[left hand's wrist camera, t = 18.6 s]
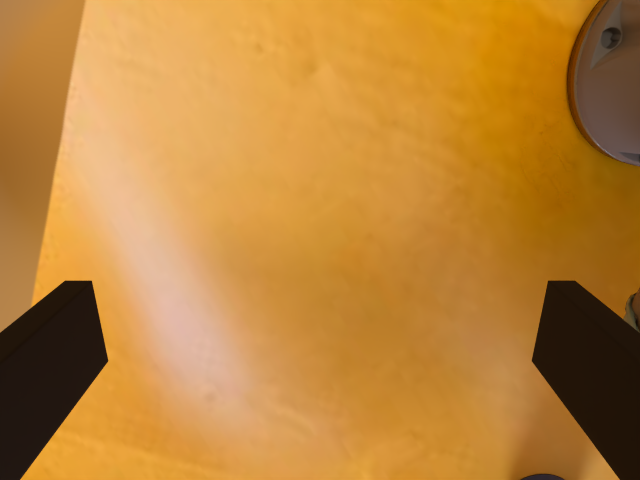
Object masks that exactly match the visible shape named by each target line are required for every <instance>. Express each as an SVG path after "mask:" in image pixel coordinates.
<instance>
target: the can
mask: <svg viewBox="0 0 640 480" xmlns="http://www.w3.org/2000/svg"><path fill="white" fill-rule="evenodd" d="M521 480H564V479H562V478H560V477H558V476H555V475H549V474H539V475H533V476H529V477H526V478H524V479H521Z"/></svg>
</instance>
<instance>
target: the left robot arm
mask: <svg viewBox="0 0 640 480" xmlns="http://www.w3.org/2000/svg"><path fill="white" fill-rule="evenodd" d="M567 90H568V100H569V105H570V110H571V113H572V116H573V119H574V121H575V123H576V126H577V127H578V129H579V131H580V132H581V134H582V135H583V136H584V138H585V139H586V140H587V141H588V142H589V143H590V144H591V145H592V146H593V147H594V148H595V149H597V150H598V151H599V152H601V153H603V154H604V155H606V156H608V157H610V158H612V159H615V160H618V161H621V162H624V163H628V164H632V165H636V166H640V0H600V1H599V2H598V4H597V5H596V6H595V8H594V9H593V11H592V12H591V13H590V15H589V16H588V18H587V20H586V22H585V23H584V25H583V27H582V29H581V31H580V33H579V35H578V38H577V40H576V43H575V46H574V48H573V52H572V55H571V59H570V64H569V70H568V79H567ZM625 310H626V314H625V316H624V318H623V319H622V318H621V317H619V316H618V315H617V314H616V313H614V312H613V311H612V310H611V309H609V308H608V307H607V306H606V305H604V304H603V303H602V302H601V301H599V300H598V299H597V298H596V297H595V296H593V295H592V294H591V293H590V292H588V291H587V290H586V289H585V288H583V287H582V286H581V285H580V284H578V283H577V282H576V281H548V284H547V289H546V294H545V299H544V304H543V309H542V314H541V318H540V323H539V328H538V333H537V338H536V343H535V348H534V353H533V357H532V362H533V363H534V365H535V366H536V367H537V369H538V370H539V371H540V373H541V374H542V376H543V377H544V378H545V380H546V381H547V382H548V384H549V385H550V386H551V388H552V389H553V390H554V392H555V393H556V394H557V396H558V397H559V398H560V400H561V401H562V402H563V404H564V405H565V406H566V408H567V409H568V410H569V412H570V413H571V415H572V416H573V417H574V419H575V420H576V421H577V423H578V424H579V425H580V427H581V428H582V429H583V431H584V432H585V433H586V435H587V436H588V437H589V439H590V440H591V441H592V443H593V444H594V445H595V447H596V448H597V449H598V451H599V452H600V454H601V455H602V456H603V458H604V459H605V460H606V462H607V463H608V464H609V466H610V467H611V468H612V470H613V471H614V472H615V474H616V475H617V476H618V478H619V479H620V480H640V288H639V290H638V292H637V293H635V294H633V295H631V296H630V298H629V299H628V301H627V303H626V308H625ZM107 362H108V357H107V353H106V348H105V343H104V338H103V333H102V328H101V323H100V318H99V314H98V309H97V304H96V299H95V294H94V289H93V284H92V281H64V282H63V283H62V284H60V285H59V286H58V287H57V288H55V289H54V290H53V291H52V292H50V293H49V294H48V295H47V296H45V297H44V298H43V299H42V300H41V301H39V302H38V303H37V304H36V305H34V306H33V307H32V308H31V309H29V310H28V311H27V312H26V313H24V314H23V315H22V316H21V317H19V318H18V319H17V320H16V321H14V322H13V323H12V324H11V325H9V326H8V327H7V328H6V329H4V330H3V331H2V332H1V333H0V480H20V479H21V478H22V476H23V475H24V474H25V472H26V471H27V470H28V468H29V467H30V466H31V464H32V463H33V462H34V460H35V459H36V458H37V456H38V455H39V454H40V452H41V451H42V449H43V448H44V447H45V445H46V444H47V443H48V441H49V440H50V439H51V437H52V436H53V435H54V433H55V432H56V431H57V429H58V428H59V427H60V425H61V424H62V423H63V421H64V420H65V419H66V417H67V416H68V415H69V413H70V412H71V410H72V409H73V408H74V406H75V405H76V404H77V402H78V401H79V400H80V398H81V397H82V396H83V394H84V393H85V392H86V390H87V389H88V388H89V386H90V385H91V384H92V382H93V381H94V380H95V378H96V377H97V376H98V374H99V373H100V371H101V370H102V369H103V367H104V366H105V365H106V363H107Z"/></svg>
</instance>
